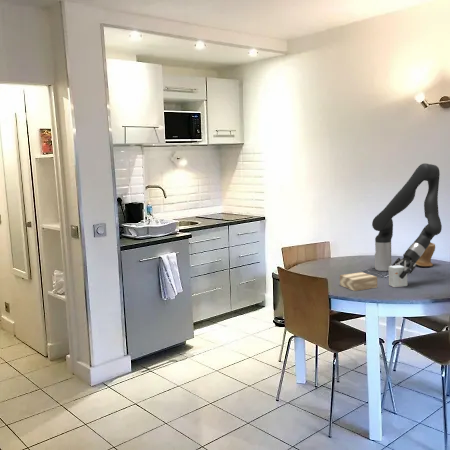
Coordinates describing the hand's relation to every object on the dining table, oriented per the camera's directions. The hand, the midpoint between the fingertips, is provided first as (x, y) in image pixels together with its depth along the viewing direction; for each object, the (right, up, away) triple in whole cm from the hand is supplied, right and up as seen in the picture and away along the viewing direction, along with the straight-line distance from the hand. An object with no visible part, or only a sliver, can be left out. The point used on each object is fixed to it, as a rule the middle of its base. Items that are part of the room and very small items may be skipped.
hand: (395, 276), depth 269 cm
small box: (+2, -5, +1) cm, 6 cm away
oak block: (-19, -6, +3) cm, 20 cm away
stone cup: (+33, +2, +46) cm, 57 cm away
